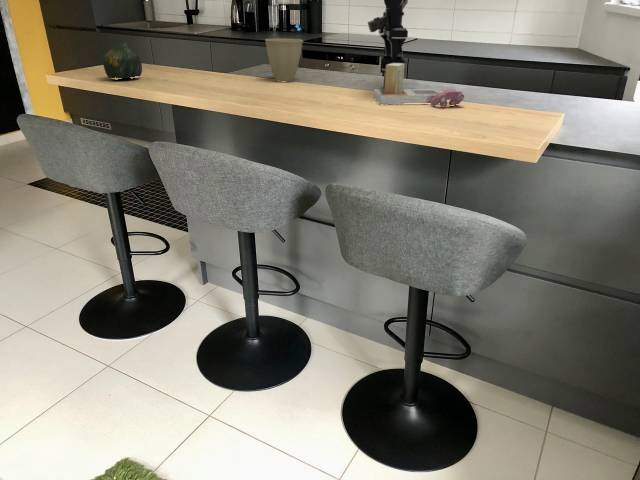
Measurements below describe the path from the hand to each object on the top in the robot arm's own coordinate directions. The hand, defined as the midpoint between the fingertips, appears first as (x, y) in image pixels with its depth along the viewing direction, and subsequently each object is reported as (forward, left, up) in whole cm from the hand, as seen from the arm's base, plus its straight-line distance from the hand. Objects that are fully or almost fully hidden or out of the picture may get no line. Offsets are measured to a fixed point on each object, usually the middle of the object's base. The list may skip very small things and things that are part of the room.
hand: (390, 57), depth 178 cm
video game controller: (+19, +15, -13) cm, 28 cm away
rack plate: (+10, +5, -13) cm, 17 cm away
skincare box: (+10, -1, -13) cm, 17 cm away
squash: (-38, -101, -13) cm, 109 cm away
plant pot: (-35, -36, -13) cm, 52 cm away
